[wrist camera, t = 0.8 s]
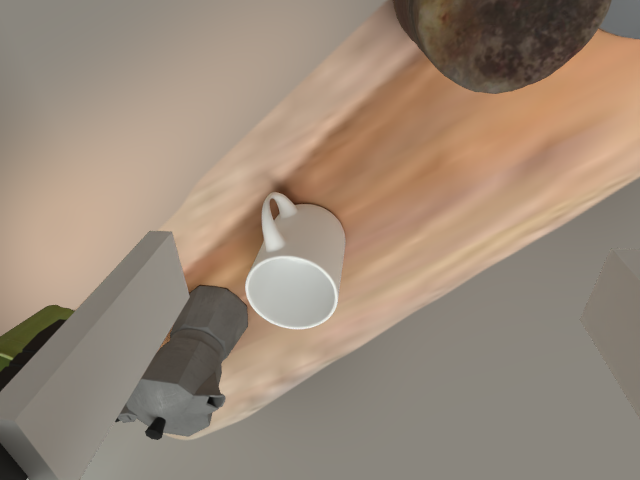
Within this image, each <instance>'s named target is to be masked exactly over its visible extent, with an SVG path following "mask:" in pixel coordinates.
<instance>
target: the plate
mask: <svg viewBox="0 0 640 480" xmlns="http://www.w3.org/2000/svg"><path fill="white" fill-rule="evenodd" d="M598 29H600V30H602V31H604V32H607V33H610V34H613V35H616V36H621V37H627V38H634V39H640V0H612V1H611V4H610V7H609V11H608V13H607V15H606V17H605V19H604V21H603V22H602V24H601V25H600V27H599V28H598Z"/></svg>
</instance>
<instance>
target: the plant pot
mask: <svg viewBox="0 0 640 480" xmlns="http://www.w3.org/2000/svg"><path fill="white" fill-rule="evenodd" d="M74 312H75V311H73V310H71V309H69V308H62V307H60V306H58V305H51V306H47V307H45V308H44V309H42V310H40V311H39V312H37V313H36V314H34V315H33V316H31V317H30V318H28V319H27V320H25V321H24V322H22V323H20V324H19V325H17V326H16V327H14V328H13V329H11V330H10V331H8V332H7V333H5V334H4V335H2V336H0V372H1V371H2V370H3V369H4V368H5V367H6V366H7V367H8V366H9V362H10V361H11V360H12V359H13V358H14V357H15V356H16V355H17V354H18V353H21V352H22V351H23V350H22V349H23V348H24V347H25V346H26V345H27V344H28V343H29V342H30V341H31V340H32V339H33V338H34V337H35V336H36V335H37V334H38V333H39V332H40V331H42V330H43V329H45V328H46V327H48V326H50V325H51V324H53V323H54V322H56V321H57V320H59V319H64V320H67V319H68V318H69V317H70V316H71V315H72V314H73V313H74Z"/></svg>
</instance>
